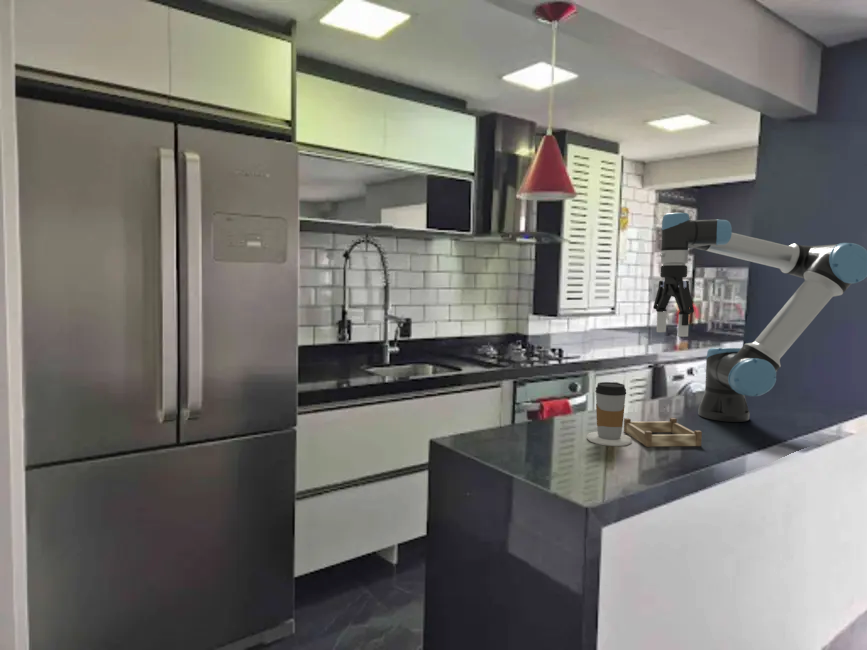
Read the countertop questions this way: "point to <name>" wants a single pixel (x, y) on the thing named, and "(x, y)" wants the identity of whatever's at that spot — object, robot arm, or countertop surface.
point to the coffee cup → (610, 409)
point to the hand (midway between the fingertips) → (671, 334)
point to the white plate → (620, 442)
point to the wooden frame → (679, 438)
